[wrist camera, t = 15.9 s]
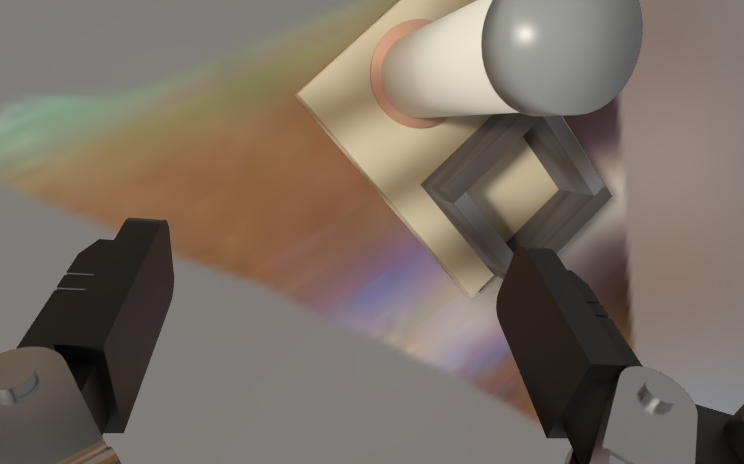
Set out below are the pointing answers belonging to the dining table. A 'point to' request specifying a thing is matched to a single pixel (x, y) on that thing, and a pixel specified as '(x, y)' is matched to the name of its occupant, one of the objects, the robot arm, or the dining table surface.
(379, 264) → the dining table surface
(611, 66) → the cylinder
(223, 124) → the dining table surface
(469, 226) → the socket board
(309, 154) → the dining table surface
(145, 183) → the dining table surface
